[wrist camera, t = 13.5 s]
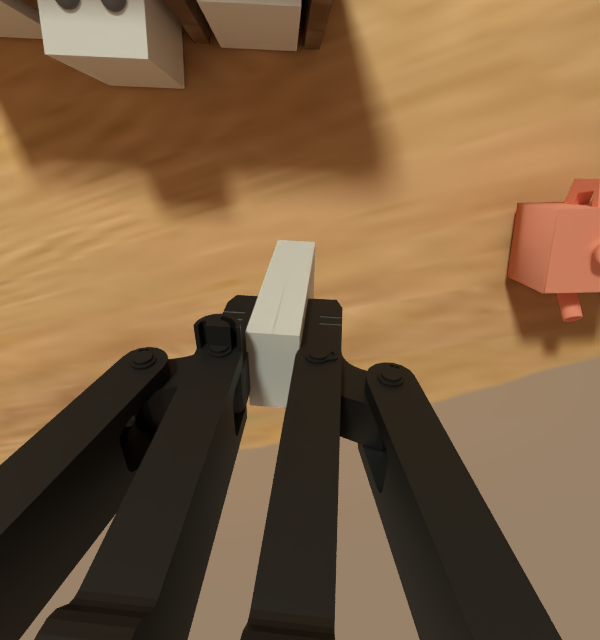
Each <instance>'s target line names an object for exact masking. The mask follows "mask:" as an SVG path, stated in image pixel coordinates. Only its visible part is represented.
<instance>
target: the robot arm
mask: <svg viewBox="0 0 600 640" xmlns="http://www.w3.org/2000/svg"><path fill="white" fill-rule="evenodd" d="M314 265H315V242H306V241H286V240H278V242H277V245H276V247H275V250H274V253H273V256H272V259H271V261H270V264H269V267H268V270H267V273H266V275H265V278H264V281H263V284H262V287H261V289H260V292H259V295H258V296H244V295H237V296H235V297H234V298H233V299H231V300H230V301H229V302H228V303H227V305H226V307H225V309H224V312H223V314H212V315H208V316H205V317H203V318H201V319H199V320H198V321H197V322H196V323H195V324H194V332H195V339H196V346H197V350H196V352H195V354H194V355H191V356H187V357H183V358H175V359H168V356H167V354H166V353H165V352H164V351H163V350H161V349H159V348H153V347H146V348H139V349H136V350H133V351H131V352H129V353H128V354H126V355H125V356H123V357H122V358H121V359H120V360H119V361H117V362H116V363H115V364H114V365H113V366H112V367H111V368H110V369H108V370H107V371H106V372H105V373H104V374H103V375H102V376H101V377H99V378H98V379H97V380H96V381H95V382H94V383H93V384H91V385H90V386H89V387H88V388H87V389H86V390H85V391H84V392H82V393H81V394H80V395H79V396H78V397H77V398H76V399H75V400H73V401H72V402H71V403H70V404H69V405H68V406H67V407H65V408H64V409H63V410H62V411H61V412H60V413H59V414H58V415H56V416H55V417H54V418H53V419H52V420H51V421H50V422H49V423H47V424H46V425H45V426H44V427H43V428H42V429H41V430H40V431H38V432H37V433H36V434H35V435H34V436H33V437H32V438H30V439H29V440H28V441H27V442H26V443H25V444H24V445H23V446H21V447H20V448H19V449H18V450H17V451H16V452H15V453H14V454H12V455H11V456H10V457H9V458H8V459H7V460H6V461H4V462H3V463H2V464H1V465H0V640H19V639H20V638H21V636H22V635H23V634H24V633H25V631H26V630H27V629H28V627H29V626H30V625H31V623H32V622H33V621H34V620H35V618H36V617H37V616H38V614H39V613H40V611H41V610H42V609H43V608H44V607H45V605H46V604H47V603H48V601H49V600H50V599H51V597H52V596H53V595H54V593H55V592H56V591H57V590H58V588H59V587H60V586H61V584H62V583H63V582H64V581H65V579H66V578H67V576H68V575H69V574H70V573H71V571H72V570H73V569H74V567H75V566H76V565H77V564H78V562H79V561H80V560H81V558H82V557H83V556H84V554H85V553H86V552H87V551H88V549H89V548H90V547H91V545H92V544H93V543H94V541H95V540H96V539H97V538H98V536H99V535H100V534H101V532H102V531H103V530H104V528H105V527H106V526H107V524H108V523H109V522H110V521H111V519H112V518H113V517H114V515H115V514H116V515H115V517H114V519H113V521H112V523H111V525H110V528H109V529H108V532H107V533H106V536H105V538H104V540H103V542H102V544H101V546H100V548H99V550H98V552H97V554H96V556H95V558H94V560H93V562H92V564H91V566H90V568H89V570H88V573H87V574H86V576H85V579H84V580H83V583H82V585H81V587H80V589H79V591H78V592H77V594H76V596H75V597H74V599H73V600H72V601H71V602H70V603H69V604H67V605H64V606H62V607H59V608H57V609H56V610H55V611H54V612H53V613H52V614H51V615H50V616H49V617H48V618H47V619H46V621H45V622H44V624H43V626H42V627H41V629H40V630H39V632H38V634H37V635H36V637H35V639H34V640H187V639H188V636H189V632H190V628H191V625H192V621H193V617H194V613H195V610H196V605H197V602H198V598H199V595H200V591H201V587H202V583H203V580H204V576H205V572H206V568H207V565H208V561H209V557H210V553H211V550H212V546H213V542H214V539H215V535H216V531H217V527H218V524H219V520H220V516H221V512H222V509H223V505H224V501H225V497H226V494H227V490H228V486H229V483H230V479H231V475H232V471H233V468H234V464H235V460H236V456H237V453H238V449H239V445H240V441H241V438H242V434H243V430H244V426H245V423H246V419H247V408H246V404H247V400H248V397H250V405H256V406H268V407H281V408H286V411H285V416H284V422H283V428H282V433H281V439H280V445H279V451H278V456H277V462H276V467H275V473H274V479H273V485H272V491H271V496H270V502H269V508H268V513H267V518H266V524H265V530H264V536H263V541H262V547H261V553H260V558H259V564H258V570H257V575H256V581H255V587H254V592H253V598H252V604H251V609H250V614H249V619H248V622H247V625H246V626H245V628H244V630H243V633H242V636H241V639H240V640H335V634H334V621H335V586H336V585H335V584H336V549H337V547H336V546H337V514H338V513H337V512H338V478H339V477H338V476H339V443H340V442H339V440H340V436H341V437H343V438H346V439H349V440H352V441H354V442H357V443H358V449H359V452H360V455H361V459H362V462H363V465H364V468H365V471H366V474H367V477H368V480H369V483H370V486H371V489H372V493H373V496H374V499H375V502H376V505H377V508H378V511H379V514H380V518H381V520H382V524H383V527H384V530H385V533H386V536H387V539H388V542H389V545H390V548H391V552H392V555H393V558H394V561H395V564H396V567H397V570H398V573H399V576H400V579H401V582H402V586H403V589H404V592H405V595H406V598H407V601H408V604H409V608H410V610H411V613H412V617H413V620H414V623H415V626H416V629H417V632H418V635H419V639H420V640H562V639H561V637H560V635H559V633H558V632H557V630H556V628H555V626H554V624H553V623H552V621H551V619H550V617H549V615H548V614H547V612H546V610H545V608H544V607H543V605H542V603H541V602H540V600H539V598H538V596H537V594H536V592H535V590H534V589H533V587H532V585H531V583H530V581H529V580H528V578H527V576H526V574H525V573H524V571H523V569H522V567H521V565H520V564H519V562H518V560H517V558H516V556H515V555H514V553H513V551H512V549H511V548H510V546H509V544H508V542H507V540H506V539H505V537H504V535H503V533H502V531H501V530H500V528H499V526H498V524H497V522H496V521H495V519H494V517H493V515H492V513H491V512H490V510H489V508H488V506H487V504H486V503H485V501H484V499H483V497H482V496H481V494H480V492H479V490H478V488H477V487H476V485H475V483H474V481H473V479H472V478H471V476H470V474H469V472H468V470H467V469H466V467H465V465H464V463H463V462H462V460H461V458H460V456H459V455H458V453H457V451H456V449H455V447H454V446H453V444H452V442H451V440H450V438H449V436H448V435H447V433H446V431H445V429H444V428H443V426H442V424H441V422H440V420H439V419H438V417H437V415H436V413H435V411H434V410H433V408H432V406H431V404H430V402H429V401H428V399H427V397H426V395H425V394H424V392H423V390H422V388H421V386H420V385H419V383H418V381H417V379H416V377H415V376H414V375H413V373H412V372H411V371H410V370H409V369H407V368H405V367H403V366H402V365H398V364H395V363H379V364H375V365H373V366H372V367H370V368H369V369H368V371H366V370H362V369H359V368H357V367H354V366H353V365H351V364H349V363H348V362H347V361H346V360H345V359H344V358H343V356H342V352H341V340H342V307H341V306H340V304H339V303H338V301H337V300H327V299H313V293H314Z"/></svg>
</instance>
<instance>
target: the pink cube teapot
mask: <svg viewBox="0 0 600 640" xmlns="http://www.w3.org/2000/svg"><path fill="white" fill-rule="evenodd" d="M592 194H593V199H592V201H590V199H591V197H592ZM507 277H509V278H511V279H513V280H515V281H517V282H520V283H522V284H524V285H526V286H528V287H530V288H532V289H534V290H536V291H538V292H540V293H542V294H546V293H556V294H557V299H558V303H559V307H560V311H561V315H562V319H563V321H564V322H572V321H577V320H580V319H582V318H583V315H582V310H581V306H580V301H579V297H578V293H584V292H600V179H574V181H573V184H572V186H571V188H570V191H569V193H568V195H567V198H566V200H565V202H545V203H517V210H516V217H515V225H514V232H513V239H512V246H511V253H510V260H509V268H508V275H507Z"/></svg>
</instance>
